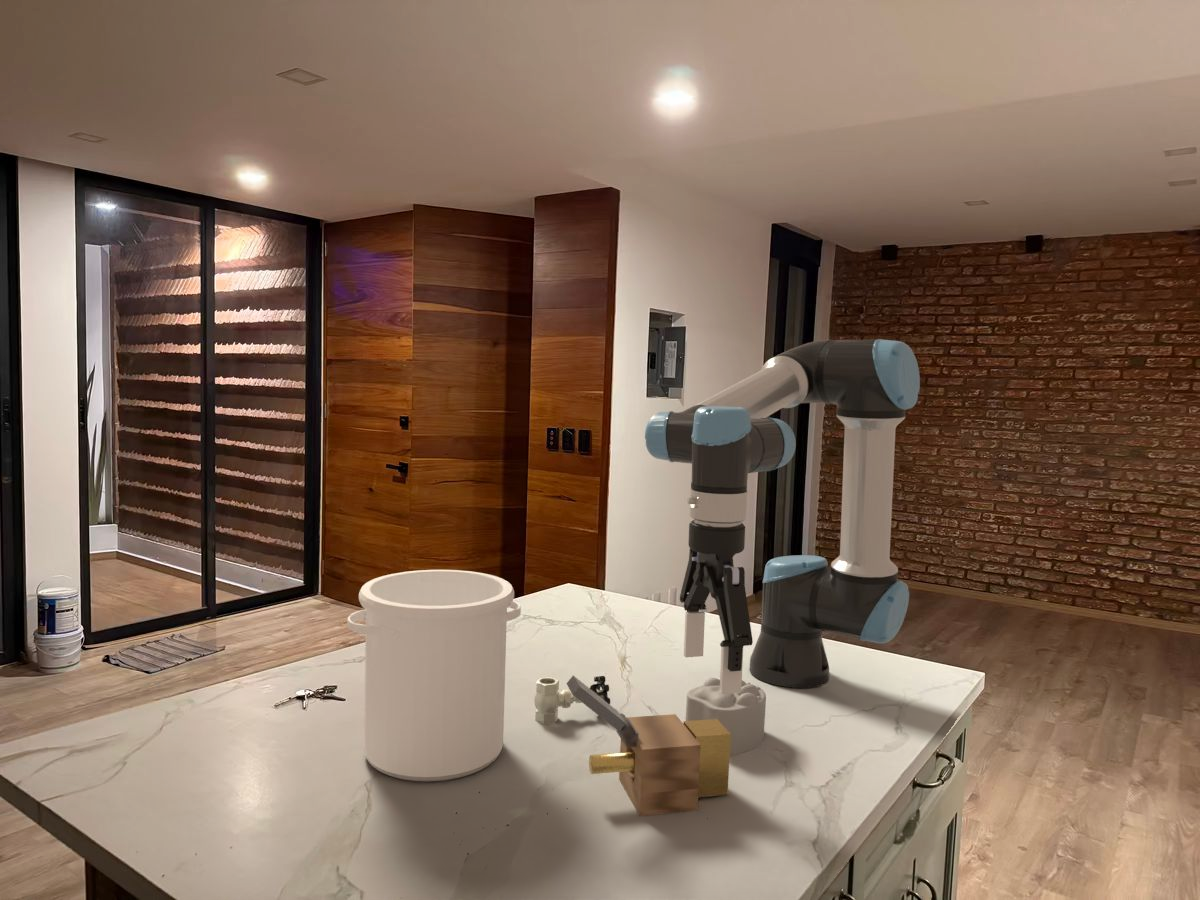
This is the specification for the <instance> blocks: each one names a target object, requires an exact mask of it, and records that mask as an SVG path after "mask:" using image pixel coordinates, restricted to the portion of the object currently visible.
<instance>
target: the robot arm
mask: <svg viewBox="0 0 1200 900" xmlns="http://www.w3.org/2000/svg"><path fill="white" fill-rule="evenodd" d="M920 377H921V376H920V369H919V365H918V361H917V358H916V356H915V353H914V351H913V350H912V348H911V347H910V346H909V345H908V344H907V343H905V342H903V341H900V340H889V339H881V338H878V339H821V340H814V341H811V342H807V343H803V344H801V345H799V346H795V347H792V348H790V349H788V350H786V351H784V352H782V353H780V354H777V355H775V356H773V357H772V358H769V359H768V360H767V361H765V363H764V364H763V366H762V367H761V369H760V370H759V371H757V372H755V373H753V374H751V375H749V376H748V377H746V378H744V379H742V380H739V381H738V382H736V383H734V384H732V385H730V386H729V387H726V388H725V389H723V390H722V391H719V392H717V393H715V394H714V395H712V396H710V397H708V398H706V399H705V400H703V401H700V402H698V403H696V404H695V405H693V406H691V407H688V408H687V409H685V410H683V411H680V412H674V411H671V410H668V411H659V412H656V413H655V414H653V415H652V416H651V417H650V419H649V420H648V422H647V424H646V427H645V431H644V439H645V447H646V449H647V451H648V453H649V454H650V455H651V456H652V457H653V458H655V459H658V460H664V461H668V462H670V463H683V464H690V465H691V481H690V482H691V483H690V497H687V504H688V505H689V516H690V518H691V519H693V520H691V521H690V523H689V525H688V547H689V553H688V561H687V565H686V566H687V567H686V570H685V575H684V579H683V582H682V586H681V591H680V594H679V602H680V603H683V609H684V611H685V614H684V615H685V616H684V640H683V641H684V643H683V656H684V657H685V658H694V657H695V658H697V657H698V658H699V657H704V648H705V647H704V643H705V642H704V641H705V624H706V623H705V621H706V618H705V617H706V612H705V611H704V610H707V605H706V601H707V599H708V597H709V595H710V596H711V598H712V599H713V600H715V604H716V608H717V613H718V617H719V621H720V626H721V630H722V635H723V640H722V641H721V642H720V643H719V646H720V647H721V651H720V652H721V653H720V671H719V673H720V675H719V680H720V693H721V694H733V693H741V686H742V680H743V663H744V660H743V658H744V647H745V646H747V647H748V646H752V645H753V642H754V641H753V635H752V626H751V619H750V613H749V606H748V599H747V593H746V592H747V591H746V585H745V583H746V581H745V578H746V575H745V572H746V571H745V568H744V567H743V566H741V567H739V566H738V567H735V566H734V556H735V555H737V554H740V553H742V552H743V551H744V550H745V543H746V542H745V541H746V526H745V524H744V523H743V522H744V521H745V520H747V504H748V477H749V474H753V473H761V472H771V471H774V470H776V469H778V468H779V469H780V468H782V467H784V466H786V465H788V463H789V462H790V461H791V460H792V458H793V456H794V455H795V452H796V448H797V447H796V446H797V444H796V442H797V441H796V436H795V433H794V431H793V429H792V427H791V426H790V425H789V424H788V423H787V422H785V421H783V420H782V419H779V418H773V417H769V416H771V415H773V414H774V413H776V412H778V411H780V410H781V409H783V408H784V409H791V408H795V407H797V406H799V405H800V404H826V405H836V417H837V419H838V420H839V421H840V422H841V423H842V424H843V426H844V439H843V440H844V441H843V442H844V443H843V461H842V462H843V463H842V464H843V465H842V466H843V468H842V488H841V489H842V490H841V491H842V492H841V516H840V517H841V518H840V519H841V520H840V541H839V543H840V546H839V555H838V557H836V558H835V559H834V560H832V562H831V563H830V567H828V566H829V562H828V560H827V558H825V557H823V556H819V555H808V554H803V555H801V554H800V555H799V554H798V555H795V554H794V555H785V556H783V555H782V556H778V557H774V558H772V559H769V560H768V561H767V563H766V564H765V565H764V566H765V567H764V571H763V572H764V573H763V579H762V598H761V599H762V602H761V621H760V622H761V623H760V624H761V625H760V632H759V636H758V638H757V640H756V643H755V645H754V648H753V650H752V653H751V655H750V659H749V673H750V674H751V675H752V676H753V677H755V678H757V679H758V680H760V681H762V682H765V683H767V684H772V685H775V686H779V687H785V688H796V689H804V688H805V689H808V688H816V687H820V686H823V685H825V684H827V682H828V681H829V679H830V666H829V661H828V657H827V654H826V650H825V645H824V642H823V631H824V632H829V633H831V634H832V633H833V634H837V635H842V636H845V637H849V638H851V639H857V640H859V641H861V642H871V643H876V644H887V643H889V642H890V641H892V640H893V639H894V638H895V637H896V635H898V633H899V631H900V629H901V627H902V625H903V623H904V620H905V617H906V614H907V613H908V612H907V611H908V606H909V603H910V601H909V600H910V591H909V586H908V584H907V583H905V582H904V581H903V580H898V579H899V578H898V577H899V576H898V572H899V568H898V566H896V564H894V562H893V561H892V560H891V558H890V555H891V554H890V553H891V538H892V537H891V534H892V532H891V531H892V530H891V529H892V513H893V492H894V491H893V490H894V473H895V472H894V471H895V470H894V469H895V467H894V466H895V448H896V447H895V444H896V428H897V426H898V425H899V424H901V423H902V422H903V421H904V420H905V419H906V412H907V410H909V409H912V408H914V407H915V405H916V403H917V402H918V398H919V397H918V396H919V395H918V394H920V389H921V388H920V387H921V384H920V383H921V378H920Z"/></svg>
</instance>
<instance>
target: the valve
mask: <svg viewBox="0 0 1200 900" xmlns="http://www.w3.org/2000/svg"><path fill="white" fill-rule="evenodd" d="M593 682H596V683H594V684H591V685H590V687H589V688H590V689H591V690H592V691H593V692H595V693H596V694H597V695H598V696H600V697H601V698H602V699H603V700H605V701H606V702H607V703H608V704H610V705H611V698H610V697H609V696H608V692H609V691H610V686H609V684H606V676H605V675H598V676H594V677H593ZM559 685H560V681H559V680H558V679H557V678H556V677H555V678H554V677H550V676H548V677H545V676H544V677H541V678H539V679H537V681H536V687H535V689H536V693H535V695H534V698H533V699H534V700H533V701H534V702H533V703H534V706H535V709H536V710H535V715H534V716H535V719H534V721H536V722H538V723H541V724H544V725H547V724H554V723H556V721H558V718H559V717H558V716H559V707H561V708H562V709H569V708H570V707H571V704H574V702H575V704H583V703H582V702H581V701H580V700H578V699H577V698H576V697H575V696H573V694H572V693H571V691H570V689H569V688H565V689H561V690H559V687H560V686H559Z"/></svg>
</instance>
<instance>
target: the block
mask: <svg viewBox="0 0 1200 900" xmlns="http://www.w3.org/2000/svg"><path fill="white" fill-rule="evenodd" d="M619 714H620V715H621V717H622V718H623V720H624V721H625V723H626V724H625V725H624V726H623V728H622V729H621V730H620V731H617V730H616V733H617V735H618V736H619V738H620V747H619V748H620V749H619V750H620V751H619V753H624V752H634V753H635V770H634V771H624V772H618V780H619V781H620V783H621V785H622V787H623V790H625V792H626V795H627V796H628V798H629V800H630V801H631V803H632V805H633V807H634V809H635V811H636V813H637V814H638V816H639V817H643V816H653V815H661V814H662V815H663V814H664V815H665V814H672V813H683V812H684V813H685V812H693V811H694V812H696V811H698V803H699V797H698V786H699V767H700V748H701V745H700V744H699V742H698V741H697V740H696V739H695V738H694V736H693V735H692V734H691V733H690V731H689V730H688V729H687V728H686V726H685V725H684V724H683V723H684V722H682V720H681V719H680V718H679V717H678V716H677V714H675V713H674V714H673V713H672V714H671V713H670V714H661V715H660V714H659V715H645V716H643V715H642V716H629V717H626V715H625V714H624V713H622V712H621V713H620V712H619Z"/></svg>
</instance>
